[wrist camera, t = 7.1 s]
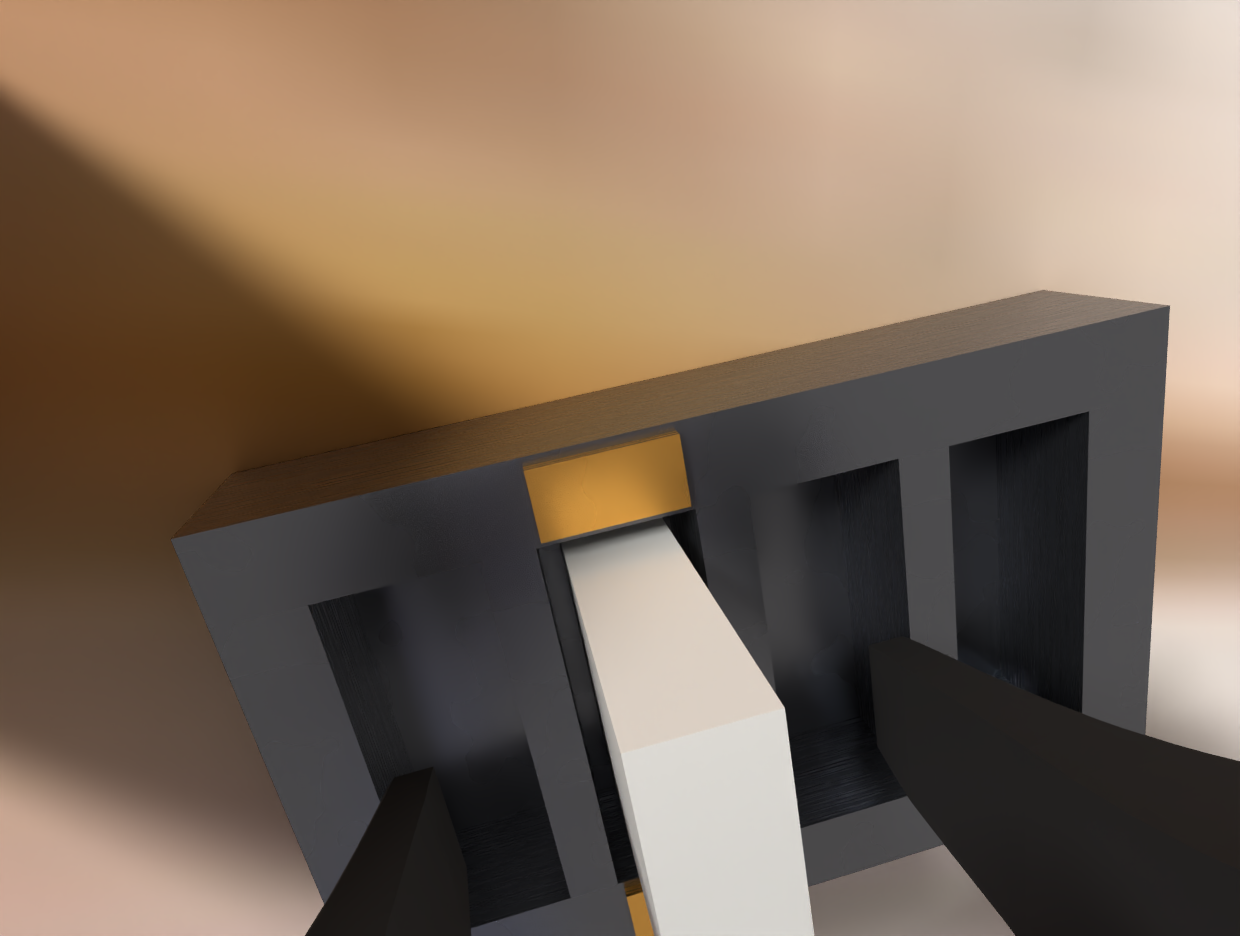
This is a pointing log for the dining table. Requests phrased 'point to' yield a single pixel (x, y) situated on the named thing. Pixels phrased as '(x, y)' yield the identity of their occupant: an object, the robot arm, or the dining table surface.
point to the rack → (726, 562)
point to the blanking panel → (689, 741)
